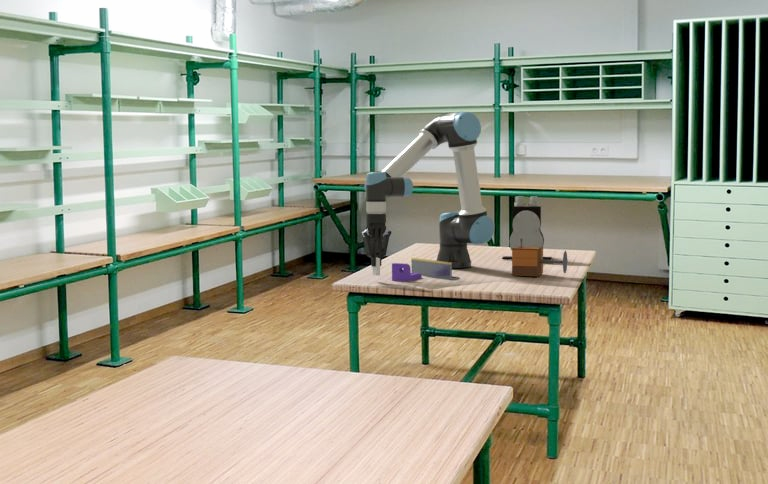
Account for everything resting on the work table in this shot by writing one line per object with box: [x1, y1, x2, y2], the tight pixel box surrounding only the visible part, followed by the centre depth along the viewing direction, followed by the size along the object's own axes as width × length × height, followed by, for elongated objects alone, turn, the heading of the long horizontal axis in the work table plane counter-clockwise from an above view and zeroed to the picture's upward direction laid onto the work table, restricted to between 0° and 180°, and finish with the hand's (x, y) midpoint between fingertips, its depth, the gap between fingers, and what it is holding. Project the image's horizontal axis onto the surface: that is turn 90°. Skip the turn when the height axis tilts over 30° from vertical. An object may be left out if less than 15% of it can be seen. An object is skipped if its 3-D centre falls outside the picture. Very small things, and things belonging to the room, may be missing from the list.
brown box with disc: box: [511, 239, 568, 277], centre depth 342 cm, size 11×20×14 cm, turn 67°
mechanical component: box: [501, 195, 553, 260], centre depth 390 cm, size 22×21×30 cm
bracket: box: [391, 262, 423, 282], centre depth 332 cm, size 12×7×7 cm, turn 153°
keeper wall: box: [411, 257, 461, 281], centre depth 339 cm, size 5×24×7 cm, turn 36°
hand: (376, 275), depth 326 cm, fingers closed
